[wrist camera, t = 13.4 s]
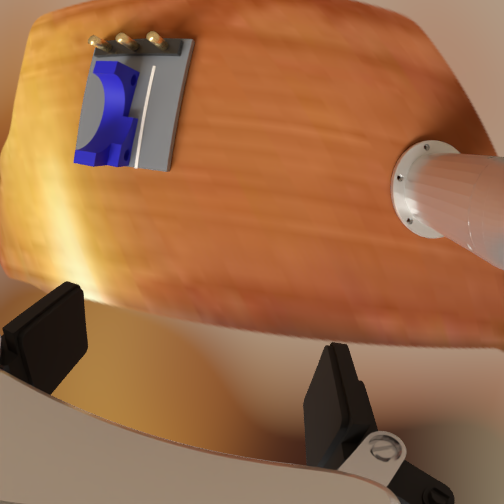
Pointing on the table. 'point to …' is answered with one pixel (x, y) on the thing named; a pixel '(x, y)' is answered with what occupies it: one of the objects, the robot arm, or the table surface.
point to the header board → (143, 105)
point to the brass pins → (136, 46)
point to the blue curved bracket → (112, 118)
